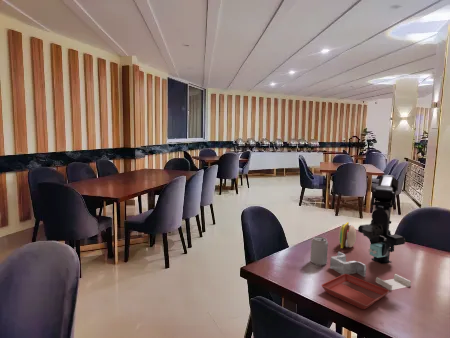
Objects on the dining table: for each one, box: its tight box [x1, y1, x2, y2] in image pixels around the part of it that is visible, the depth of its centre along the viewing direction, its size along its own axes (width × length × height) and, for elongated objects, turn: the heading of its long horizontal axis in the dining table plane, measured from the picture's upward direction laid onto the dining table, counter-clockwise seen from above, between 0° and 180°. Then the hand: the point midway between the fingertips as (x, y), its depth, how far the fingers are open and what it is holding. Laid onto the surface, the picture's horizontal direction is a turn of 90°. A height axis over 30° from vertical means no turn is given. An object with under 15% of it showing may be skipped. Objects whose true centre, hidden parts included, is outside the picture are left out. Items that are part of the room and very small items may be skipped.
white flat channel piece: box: [375, 273, 412, 291], centre depth 124 cm, size 11×7×2 cm, turn 111°
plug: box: [368, 242, 388, 258], centre depth 129 cm, size 7×4×4 cm, turn 113°
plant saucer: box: [321, 274, 390, 310], centre depth 116 cm, size 18×18×3 cm
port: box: [329, 251, 367, 278], centre depth 137 cm, size 8×16×6 cm, turn 21°
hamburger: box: [338, 221, 357, 249], centre depth 168 cm, size 12×8×12 cm
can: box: [309, 236, 329, 266], centre depth 144 cm, size 8×8×12 cm
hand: (378, 253), depth 130 cm, fingers closed on plug, 4 cm apart
